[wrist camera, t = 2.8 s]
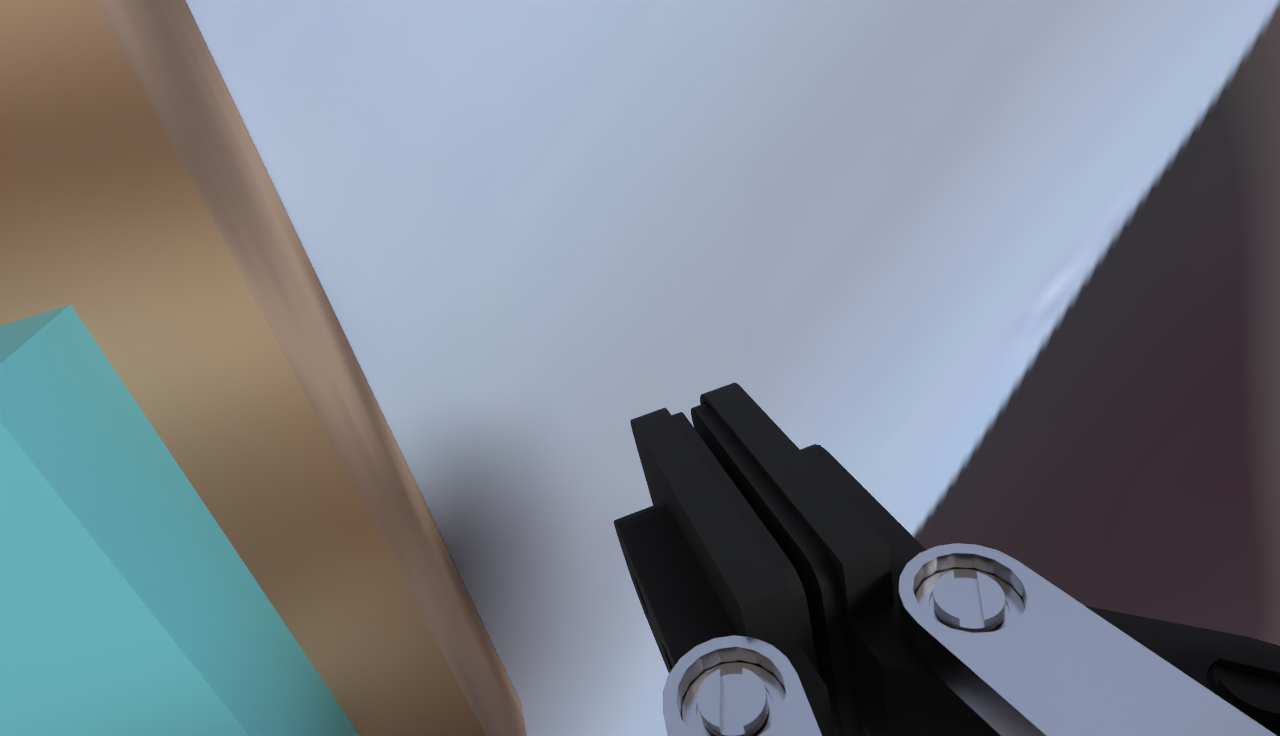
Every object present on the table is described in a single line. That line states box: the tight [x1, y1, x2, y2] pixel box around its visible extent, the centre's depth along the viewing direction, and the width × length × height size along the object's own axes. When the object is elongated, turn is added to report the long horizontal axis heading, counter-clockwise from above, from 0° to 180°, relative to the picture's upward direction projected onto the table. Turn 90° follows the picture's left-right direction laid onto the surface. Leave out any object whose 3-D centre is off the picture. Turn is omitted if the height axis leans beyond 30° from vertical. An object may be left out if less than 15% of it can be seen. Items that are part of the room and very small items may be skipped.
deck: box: [0, 0, 526, 736], centre depth 12 cm, size 20×12×4 cm, turn 13°
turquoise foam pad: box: [0, 304, 360, 736], centre depth 10 cm, size 9×6×2 cm, turn 13°
